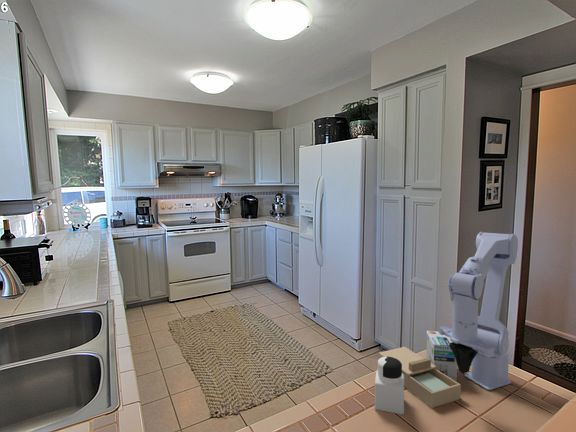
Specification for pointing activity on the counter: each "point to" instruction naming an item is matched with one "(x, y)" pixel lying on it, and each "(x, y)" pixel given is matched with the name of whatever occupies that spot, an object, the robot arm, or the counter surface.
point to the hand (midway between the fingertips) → (463, 371)
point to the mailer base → (433, 395)
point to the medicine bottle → (389, 386)
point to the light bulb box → (441, 354)
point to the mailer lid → (409, 360)
